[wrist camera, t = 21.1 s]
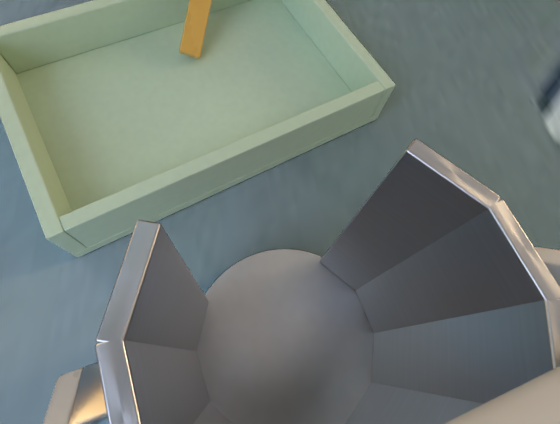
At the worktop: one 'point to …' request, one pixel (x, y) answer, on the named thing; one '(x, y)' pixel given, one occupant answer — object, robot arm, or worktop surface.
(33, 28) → the tray
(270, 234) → the worktop surface
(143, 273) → the steel cup
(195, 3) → the key
